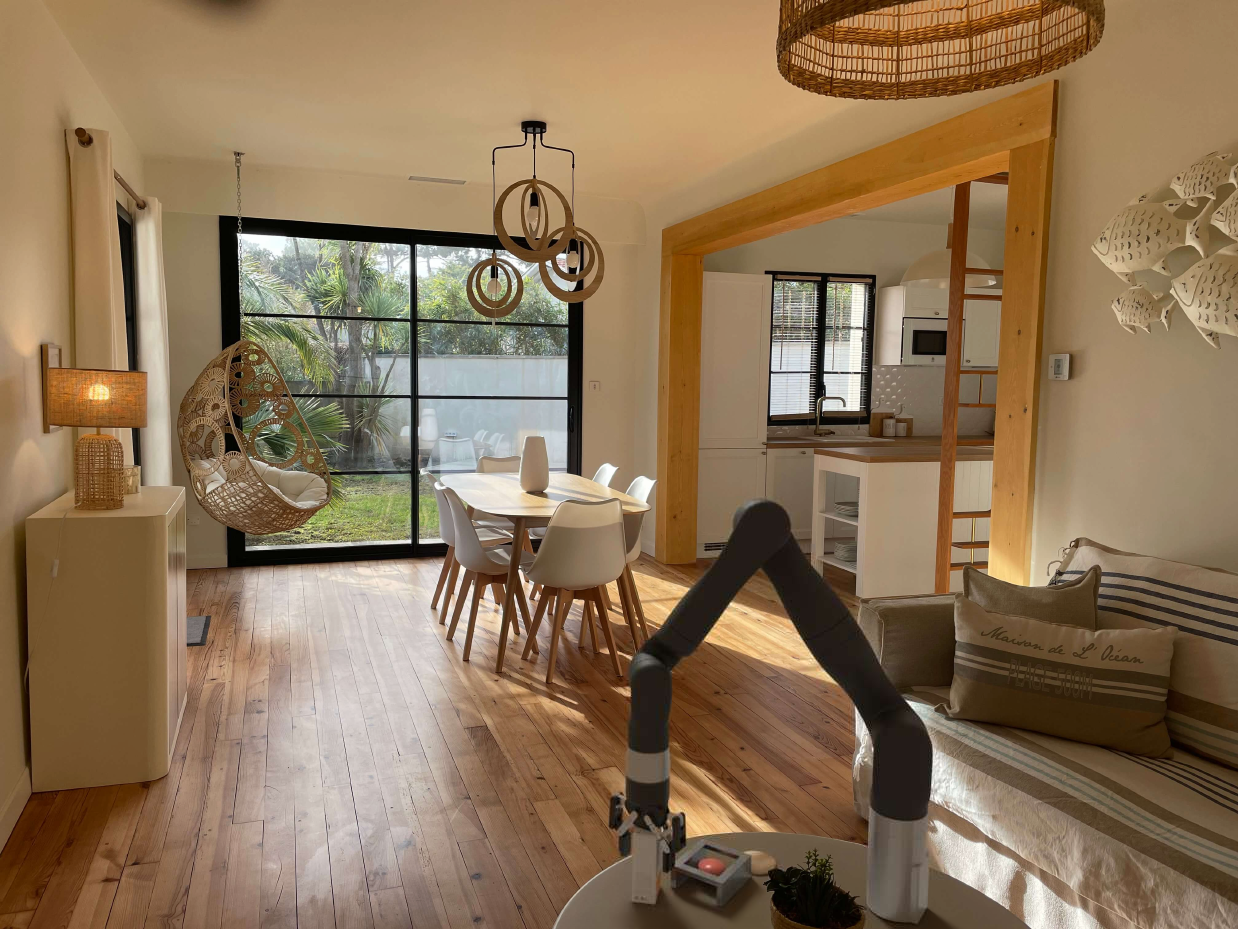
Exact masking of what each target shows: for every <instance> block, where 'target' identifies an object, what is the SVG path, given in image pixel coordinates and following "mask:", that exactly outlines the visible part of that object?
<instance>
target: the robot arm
mask: <svg viewBox="0 0 1238 929" xmlns="http://www.w3.org/2000/svg"><path fill="white" fill-rule="evenodd" d="M732 520H733V521H732V532H731V534H730V535H729V538H728V539H727V540H726V543H725V545H724V546H723V548H722V550H721V552H720V553H719V554H718V556H717V557H716V559H715V560H714V561H713V563H712V564H711V566H709V568H708V569H707V570H706V571H705V572H704V574H703V575H701V576H700V578H699V579H698V580H696V582H694V584H693V585H692V586H691V587H690V589H689V590H687V592H686V593H685V594H684V595H683V596H682V598H681V599H680V600H679V601H678V603H677V604H676V605H675V607H674V608H673V609H672V611H671V612H670V613H669V615H668V616H667V618H666V619H665V620H664V621H663V623H662V625H661V626H660V628H658V630H657V631H655V633H653V634H652V635H651V636H650V637H649V638H648V639H647V640H646V641H645V642H644V643H643V644H642V645H641V646H640V647H639V649H638V650H637V651H636V652H635V654H634V655H633V656H632V658H631V660H630V661H629V663H628V667H627V678H628V682H629V687H630V714H629V717H628V722H627V723H628V724H627V749H626V755H625V788H624V789H625V792H623V791H618V792H617V793H615V794H613V796H611V797H610V800H609V814H608V828H609V829H610V830H615V832H616V834H617V835H618V851H619V853H620V857H623V858H626V857H628V856H629V855H630V854H631V853H632V832H631V831H630V830H631V829H632V828H633V827H639V828H642V829H645V830H648V831H651V832H652V833H653V835H655V836H657V841H659V842H660V844H661V849H663V851H662V867H661V872H662V873H664V874H668V873H669V872H671V869H672V868H674V866H675V861H676V854H678V853H679V852H681V851H682V850H683V849H684V848H685V847H686V846H687V823H686V822H687V821H686V820H687V819H686V813H685V812H683V811H680V812H678V813H676V812H672V811H670V808H669V800H670V797H671V796H670V792H671V791H670V788H671V787H670V786H671V784H670V783H671V753H670V715H671V709H672V702H673V701H672V700H673V688H674V687H673V677H672V673H671V672H672V671H673V669H675V667H677V665H678V664H679V663H680V661H681V660H682V659H683V658H688V657H690V656H692V655H693V653H695V651H696V650H697V649H698V648H699V646H700V645H701V644H702V642H704V640H705V639H706V637H707V636H708V635H709V633H710V632H711V631H712V630H713V628H714V626H715V625H716V623H717V622H718V621H719V619H720V618H721V616H723V614H724V612H726V610H727V608H728V606H729V605H730V604H731V603H732V602H733V600H734V599H735V597H736V596H737V595H738V593H740V590H742V588H743V587H744V586H745V585H746V584H747V582H748V581H749V580H751V578H752V576H754V575H755V574H756V573H757V571H759V569H761V570H762V571H763V572H764V574H765V575H766V578H768V579H769V581H770V582H771V585H772V586H773V588H774V589H775V592H776V593H777V595H778V598H779V599H780V602H781V604H782V606H783V608H784V610H785V611H786V614H787V616H788V618H789V619H790V621H791V623H792V625H793V626H794V628H795V631H796V632H797V634H798V635H799V637H800V638H801V640H802V641H803V643H804V645H805V646H806V647H807V649H808V651H809V652H810V654H811V656H813V658H814V660H815V661H816V662H817V663H818V665H819V666H820V667H821V668H822V669H823V671H825V673H826V674H827V675H828V676H829V677H830V678H831V679H832V680H833V681H834V682H835V683H836V684H837V685H838V686H840V688H841V690H843V691H844V692H845V693H846V695H847V696H848V698H850V700H851V702H852V703H853V704H854V707H855V708H856V710H857V712H858V713H859V716H860V718H861V719H862V721H863V723H864V725H865V727H866V729H867V731H868V733H869V736H870V739H871V740H870V741H871V744H872V748H873V749H872V773H871V774H872V775H871V776H872V779H871V780H872V781H871V787H870V789H869V808H868V810H869V811H868V813H869V814H868V835H867V836H868V838H867V863H866V864H867V865H866V867H867V868H866V889H865V890H866V891H865V892H866V894H865V896H866V900H865V901H866V902H865V903H866V906H867V908H868V909H869V910H870V911H871V912H872V913H874V914H875V915H876V916H878V917H880V918H882V919H884V920H888V921H891V922H897V923H912V924H914V925H918V924H919V922H920V920H921V918H922V917H923V915H924V914H925V912H926V910H927V909H928V900H929V899H928V898H929V896H928V895H929V875H930V873H929V872H930V853H929V852H927V836H928V835H927V833H928V812H929V811H928V810H929V803H930V800H931V795H932V784H933V783H932V782H933V780H932V779H933V766H934V765H933V762H934V761H933V760H934V751H933V749H934V748H933V742H932V739H931V737H930V734H929V732H928V729H927V726H926V724H925V723H924V720H923V719H922V718H921V717H920V716H919V714H918V713H917V712H916V711H915V710H914V709H913V707H912V706H911V705H910V704H909V703H908V702H907V700H906V698H904V696H903V694H901V693H900V691H899V690H898V689H897V688H896V687H895V685H894V684H893V683H892V681H891V679H889V677H888V675H887V674H886V671H884V669H883V667H882V664H881V663H880V661H879V659H878V656H877V655H876V652H875V651H874V649H873V647H872V644H871V643H870V641H869V639H868V638H867V637H866V635H865V633H864V631H863V629H862V628H861V626H860V625H859V623H858V622H857V620H856V619H855V617H854V615H853V614H852V612H851V611H850V609H849V608H848V607H847V605H846V604H845V602H844V600H842V598H841V597H840V596H839V595H838V593H837V592H836V591H835V590H834V588H833V587H832V585H830V584H829V582H827V580H826V579H825V578H824V577H823V576H822V575H821V574H820V572H819V571H817V569H815V567H814V566H813V565H812V564H811V562H810V561H809V559H808V558H807V556H805V553H804V552H803V550H802V549H801V547H800V545H799V543H798V541H797V539H796V538H795V536H794V533H793V532H792V520H791V518H790V516H789V513H788V512H787V510H786V509H785V508H784V507H783V506H782V505H780V504H779V503H778V502H775V501H773V500H771V499H766V498H752V499H749V500H746V501H745V502H743V503H742V504H741V505H740V506H739V507H738V508H737V509H736V512H735V514H734V516H733V519H732ZM624 793H625V794H624ZM624 808H625V810H626V812H627V814H628V816H627V818H626V819H625V820H624V821H623V814H624ZM661 827H662V829H663V830H662V833H661V832H660V830H659V829H660V828H661Z"/></svg>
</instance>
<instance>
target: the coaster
mask: <svg viewBox="0 0 1238 929" xmlns="http://www.w3.org/2000/svg"><path fill="white" fill-rule="evenodd" d="M742 852H743V851H742ZM743 853H746V854H749V855H752V858H751V875H755V876H761V875H768V874H769V873H768V870H769V869H772V868H775V869H776V867H777V866H776V860H775V858H774V857H773V856H772V855H770V854H769V853H766V852H763V851H759V850H758V851H757V850H747V851H744V852H743Z"/></svg>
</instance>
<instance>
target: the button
mask: <svg viewBox="0 0 1238 929" xmlns="http://www.w3.org/2000/svg"><path fill="white" fill-rule="evenodd" d="M696 869H699V870H701V871H704V872H707V873H710V874H712V875H715V876H718V877H719V876H720V875H721V874H722V873H723V872H724V871H725V870H726V869H727V868H726V865H725V863H724V862H723V861H721V860H720V859H717V858H710V857H709V858H707V859H704V860H701V861H700V862H699V865H698V866H697V867H696Z"/></svg>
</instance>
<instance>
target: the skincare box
mask: <svg viewBox="0 0 1238 929" xmlns="http://www.w3.org/2000/svg"><path fill="white" fill-rule="evenodd" d="M662 829H663V828H662V827H661V828H660V829H659V830H660V832H661V833H662V832H663V830H662ZM631 854H632V855H631V856H632V857H631V864H632V865H631V900H630V901H631V902H633V903H641V904H647V905H649V904H650V905H656V904H657V899H658V894H659V891H660V888H661V882H662V881H661V880H662V879H661V878H662V877H661V876H662V874H661V872H662V846H661V844H660V842H659V841H657V836H655V835H653V833H652V832H651V831H648V830H645V829H642V828H639V827H636V826H634V831H633V833H632V842H631Z"/></svg>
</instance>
